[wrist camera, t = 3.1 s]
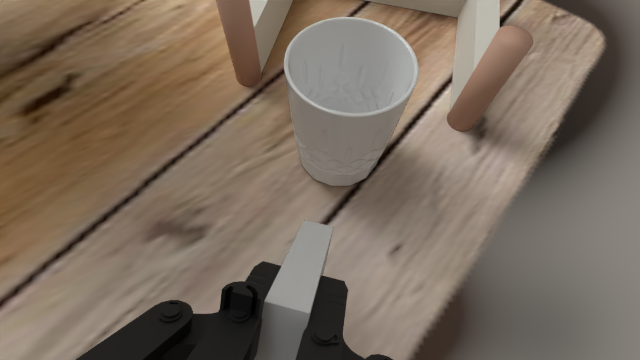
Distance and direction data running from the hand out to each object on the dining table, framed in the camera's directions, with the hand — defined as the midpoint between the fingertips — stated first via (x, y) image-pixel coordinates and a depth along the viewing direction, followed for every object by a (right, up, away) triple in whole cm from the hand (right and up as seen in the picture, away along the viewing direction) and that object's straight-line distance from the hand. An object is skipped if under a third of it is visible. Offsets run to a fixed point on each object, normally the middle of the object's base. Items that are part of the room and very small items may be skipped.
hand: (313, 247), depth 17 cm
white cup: (+2, +6, +12) cm, 13 cm away
